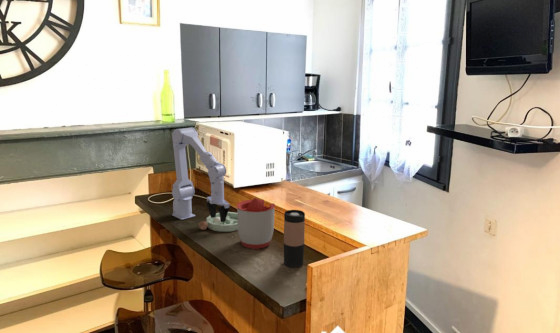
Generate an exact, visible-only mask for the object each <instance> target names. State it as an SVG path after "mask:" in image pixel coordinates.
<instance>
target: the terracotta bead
mask: <svg viewBox="0 0 560 333" xmlns="http://www.w3.org/2000/svg"><path fill="white" fill-rule="evenodd" d="M198 227H199V230H202V231H205V230H207V228H208V224H207V220H201V221H200V222H199V223H198Z"/></svg>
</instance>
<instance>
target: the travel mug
mask: <svg viewBox="0 0 560 333" xmlns="http://www.w3.org/2000/svg"><path fill="white" fill-rule="evenodd" d="M283 218H284V219H283V264H284V266H285V267H287V268H290V269H298V268H300V267H302V266H303V265H304V254H305V252H304V251H305V233H306V232H305V226H306V224H305V223H306V221H305V220H306V213H305V212H304V211H303V210H299V209H287V210H285V211H284V216H283Z"/></svg>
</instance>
